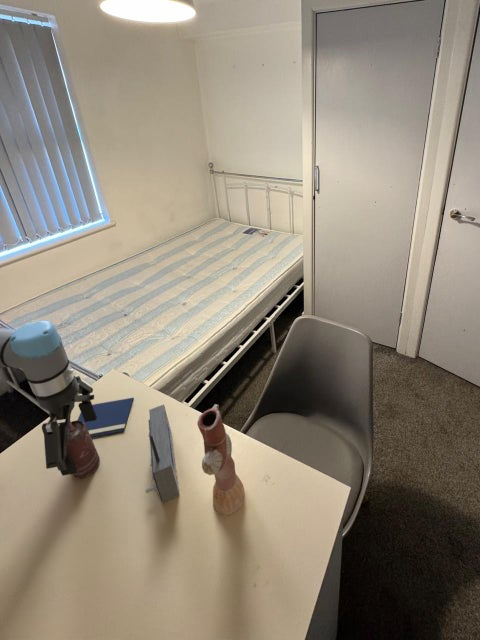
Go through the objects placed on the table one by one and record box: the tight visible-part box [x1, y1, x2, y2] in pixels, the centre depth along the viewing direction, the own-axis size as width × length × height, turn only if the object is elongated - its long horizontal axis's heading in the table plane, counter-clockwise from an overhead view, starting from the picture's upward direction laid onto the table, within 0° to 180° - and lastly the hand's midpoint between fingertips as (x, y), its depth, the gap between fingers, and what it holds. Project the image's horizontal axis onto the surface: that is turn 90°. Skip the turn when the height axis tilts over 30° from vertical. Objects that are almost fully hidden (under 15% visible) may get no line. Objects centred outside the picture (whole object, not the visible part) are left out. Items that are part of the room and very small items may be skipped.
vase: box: [196, 403, 245, 516], centre depth 68 cm, size 10×7×30 cm
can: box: [66, 420, 101, 480], centre depth 79 cm, size 6×6×14 cm
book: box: [76, 397, 135, 439], centre depth 93 cm, size 14×11×1 cm
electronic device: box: [145, 404, 180, 503], centre depth 77 cm, size 17×7×20 cm, turn 26°
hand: (81, 444), depth 81 cm, fingers open, 13 cm apart
